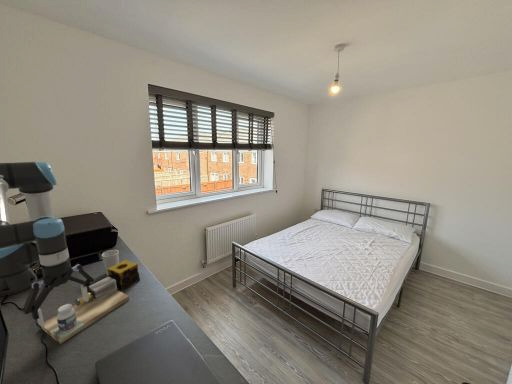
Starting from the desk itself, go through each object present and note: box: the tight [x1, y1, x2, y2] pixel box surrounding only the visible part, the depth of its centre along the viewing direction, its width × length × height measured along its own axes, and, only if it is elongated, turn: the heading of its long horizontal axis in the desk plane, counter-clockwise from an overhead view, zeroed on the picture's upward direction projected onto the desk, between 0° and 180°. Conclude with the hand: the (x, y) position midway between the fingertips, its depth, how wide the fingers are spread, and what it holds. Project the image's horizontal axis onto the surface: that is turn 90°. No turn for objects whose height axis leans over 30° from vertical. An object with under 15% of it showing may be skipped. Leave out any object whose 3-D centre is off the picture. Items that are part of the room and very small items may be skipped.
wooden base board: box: [40, 276, 130, 345], centre depth 91 cm, size 16×26×8 cm, turn 154°
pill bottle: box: [56, 303, 77, 333], centre depth 80 cm, size 5×5×9 cm
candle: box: [108, 259, 141, 291], centre depth 111 cm, size 10×10×10 cm
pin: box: [74, 291, 95, 306], centre depth 94 cm, size 3×8×3 cm, turn 154°
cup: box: [101, 249, 120, 276], centre depth 120 cm, size 8×8×12 cm
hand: (65, 311), depth 80 cm, fingers open, 13 cm apart
